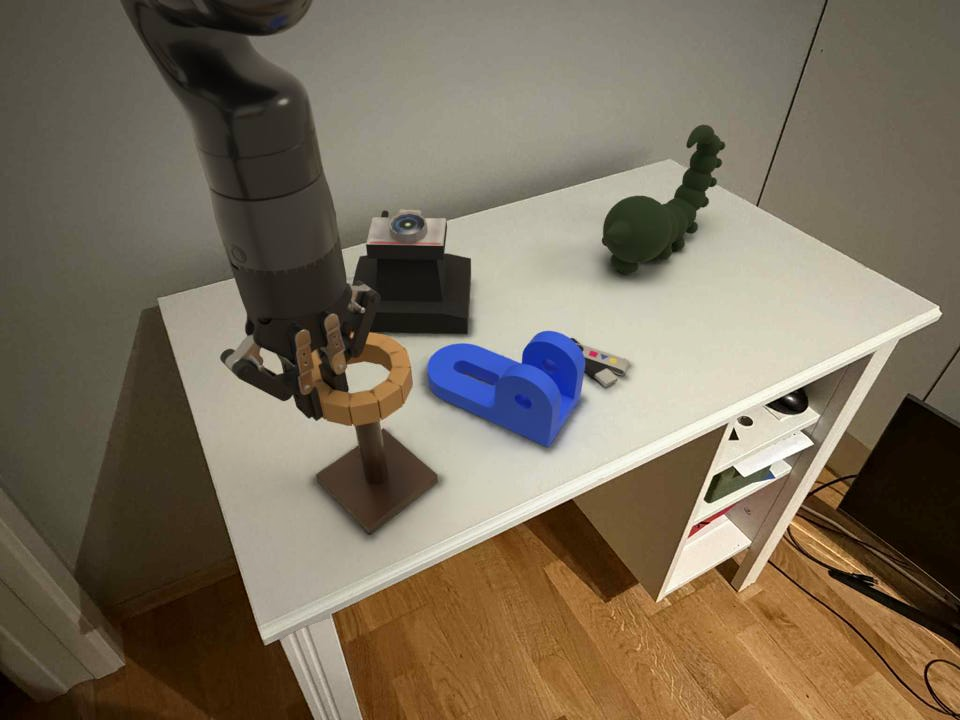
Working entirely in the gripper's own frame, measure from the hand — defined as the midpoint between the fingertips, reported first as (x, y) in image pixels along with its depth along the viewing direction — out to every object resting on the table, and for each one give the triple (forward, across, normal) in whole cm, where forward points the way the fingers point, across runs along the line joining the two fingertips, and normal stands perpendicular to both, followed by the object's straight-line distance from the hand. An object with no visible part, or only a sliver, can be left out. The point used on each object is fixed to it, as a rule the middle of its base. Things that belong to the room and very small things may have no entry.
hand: (324, 406), depth 55 cm
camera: (+15, -27, -21) cm, 37 cm away
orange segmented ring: (0, -4, 0) cm, 4 cm away
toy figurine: (+15, -60, -4) cm, 62 cm away
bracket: (+15, -22, 0) cm, 26 cm away
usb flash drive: (+15, -35, +5) cm, 38 cm away
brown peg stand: (+15, -4, 0) cm, 15 cm away
